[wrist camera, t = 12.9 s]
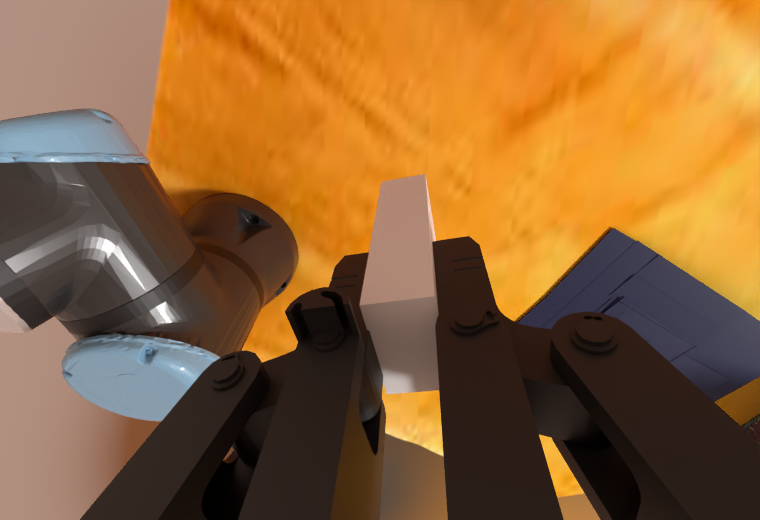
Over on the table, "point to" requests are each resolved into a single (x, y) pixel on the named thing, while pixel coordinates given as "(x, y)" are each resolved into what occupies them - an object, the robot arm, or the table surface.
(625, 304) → the dark blue flat slab
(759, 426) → the black coffee bag
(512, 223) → the table surface
